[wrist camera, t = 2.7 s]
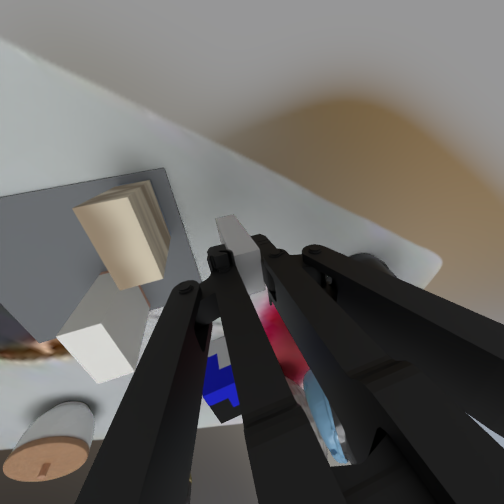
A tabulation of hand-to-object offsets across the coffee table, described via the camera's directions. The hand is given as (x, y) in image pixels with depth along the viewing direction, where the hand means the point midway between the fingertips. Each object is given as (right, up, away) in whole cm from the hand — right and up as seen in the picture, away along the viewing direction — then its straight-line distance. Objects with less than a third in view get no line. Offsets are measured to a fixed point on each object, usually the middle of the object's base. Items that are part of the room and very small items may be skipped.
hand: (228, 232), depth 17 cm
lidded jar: (-33, -32, +24) cm, 52 cm away
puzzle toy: (-3, -23, +29) cm, 37 cm away
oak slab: (-13, +4, +12) cm, 17 cm away
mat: (-20, -3, +13) cm, 24 cm away
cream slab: (-18, -8, +16) cm, 25 cm away
